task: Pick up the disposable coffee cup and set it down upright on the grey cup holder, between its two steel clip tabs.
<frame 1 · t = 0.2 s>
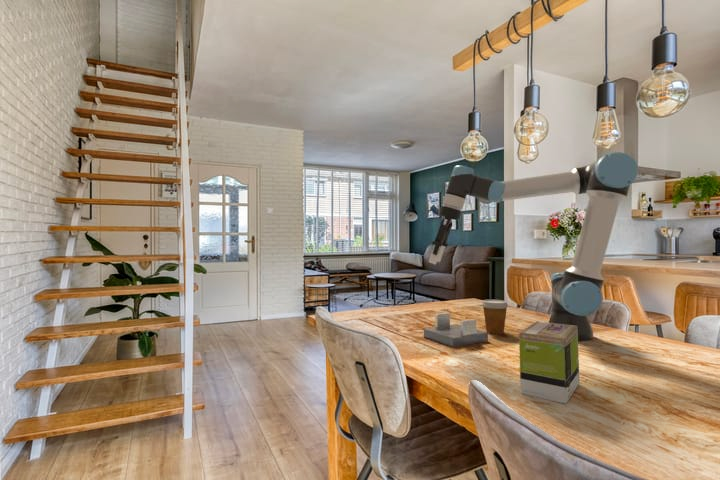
hand: (434, 262, 145), 27 cm above the table, tool tilted 20°, fingers open, 13 cm apart
tea box: (550, 390, 93), on the table
disposable coffee cup: (495, 332, 149), on the table
grey cup holder: (455, 338, 140), on the table
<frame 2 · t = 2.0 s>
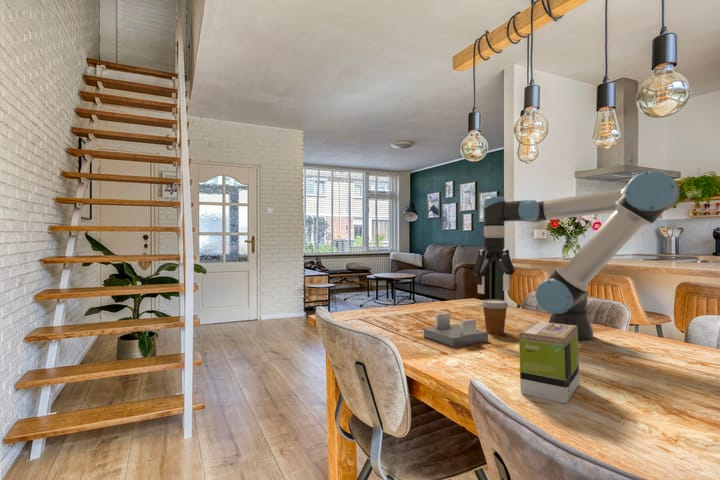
hand: (493, 292, 149), 15 cm above the table, tool pointing down, fingers open, 13 cm apart
nothing on the table moved.
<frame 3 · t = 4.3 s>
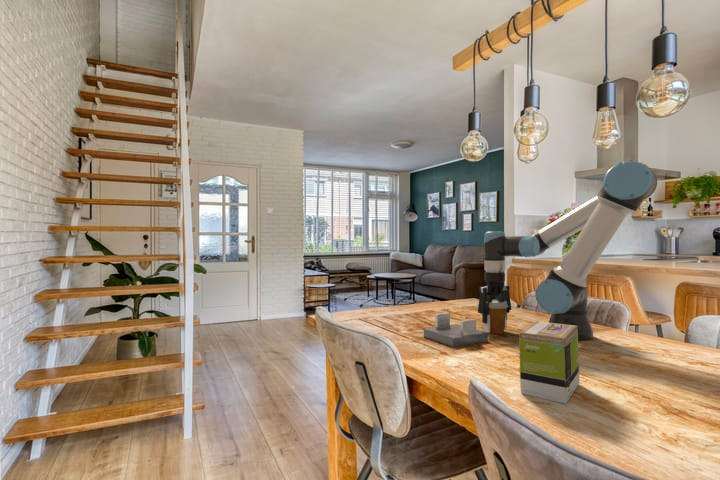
hand: (495, 330, 149), 1 cm above the table, tool pointing down, fingers closed on disposable coffee cup, 8 cm apart
disposable coffee cup: (495, 332, 149), on the table, touching gripper
everything else where it was.
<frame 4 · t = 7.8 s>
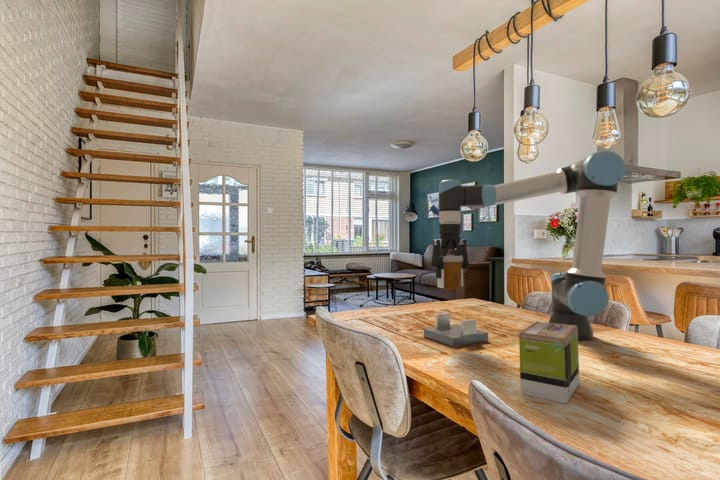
hand: (450, 286, 139), 19 cm above the table, tool pointing down, fingers closed on disposable coffee cup, 8 cm apart
disposable coffee cup: (450, 289, 139), point 18 cm above the table, touching gripper
everything else where it was.
when the fingers open (5 cm above the table, at t = 11.5 s): disposable coffee cup moves 2 cm, point 3 cm above the table.
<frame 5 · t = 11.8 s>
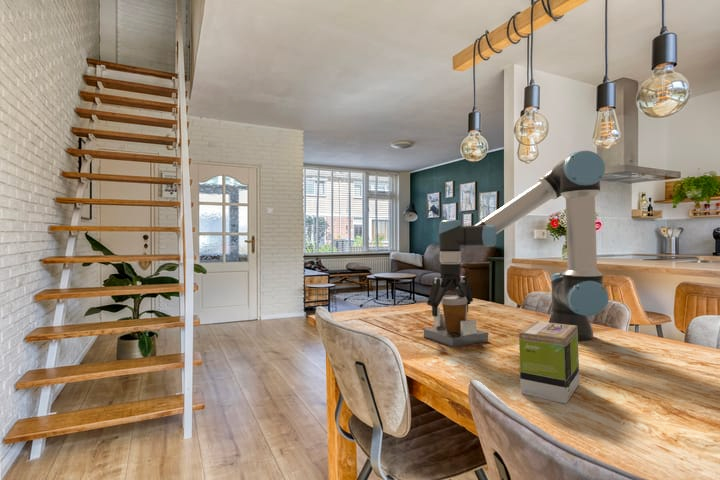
hand: (450, 323, 139), 6 cm above the table, tool pointing down, fingers open, 12 cm apart
disposable coffee cup: (455, 330, 140), point 3 cm above the table, touching gripper
everything else where it was.
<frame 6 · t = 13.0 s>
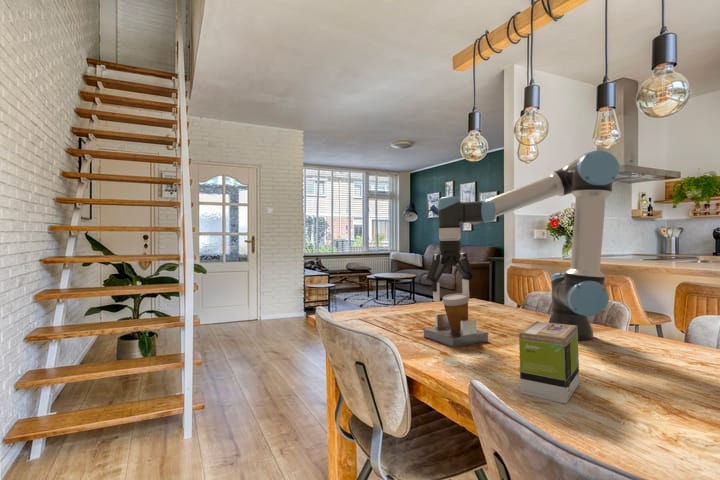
hand: (451, 299, 139), 14 cm above the table, tool pointing down, fingers open, 13 cm apart
disposable coffee cup: (459, 329, 140), point 3 cm above the table, touching grey cup holder
everything else where it was.
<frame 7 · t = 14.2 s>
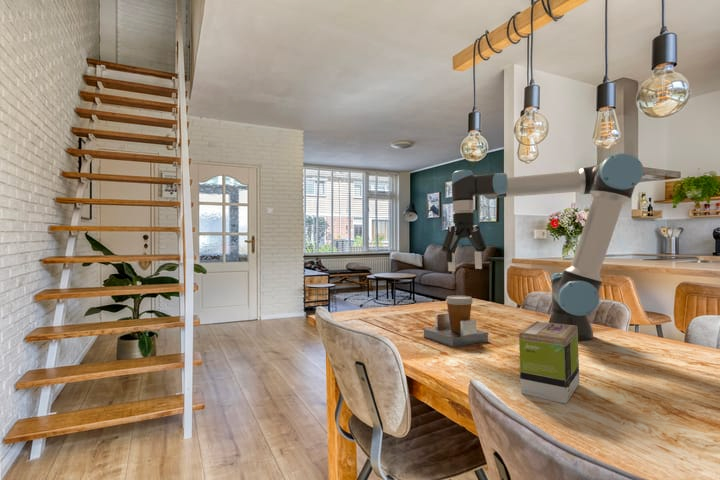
hand: (465, 270, 143), 25 cm above the table, tool pointing down, fingers open, 13 cm apart
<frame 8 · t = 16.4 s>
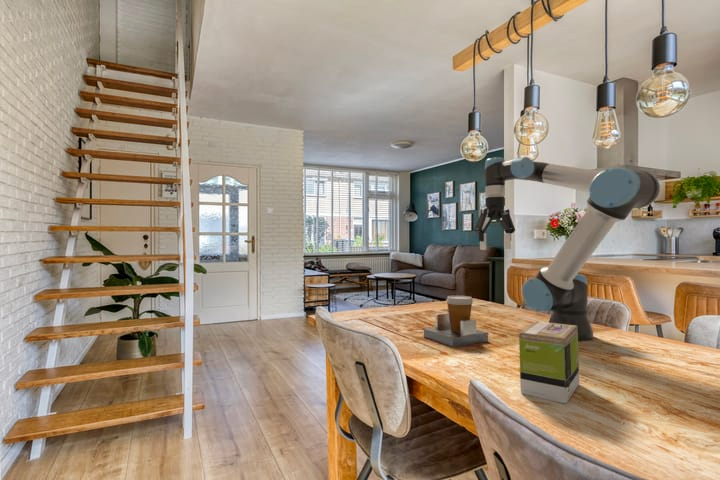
hand: (495, 249, 156), 32 cm above the table, tool pointing down, fingers open, 13 cm apart
at the end: disposable coffee cup inside the target area on the grey cup holder (1.7 cm from its centre), point 2.8 cm above the grey cup holder's base; disposable coffee cup tilted 0°; the gripper is holding nothing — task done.
